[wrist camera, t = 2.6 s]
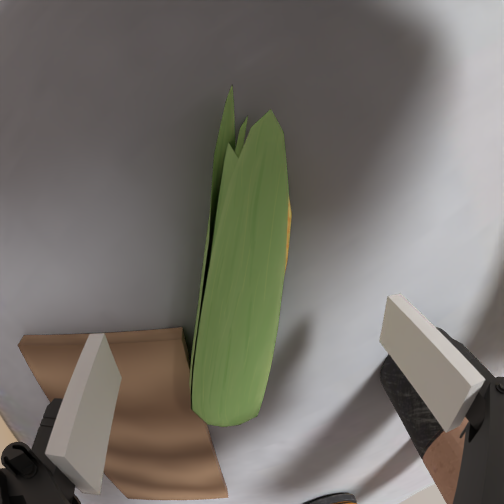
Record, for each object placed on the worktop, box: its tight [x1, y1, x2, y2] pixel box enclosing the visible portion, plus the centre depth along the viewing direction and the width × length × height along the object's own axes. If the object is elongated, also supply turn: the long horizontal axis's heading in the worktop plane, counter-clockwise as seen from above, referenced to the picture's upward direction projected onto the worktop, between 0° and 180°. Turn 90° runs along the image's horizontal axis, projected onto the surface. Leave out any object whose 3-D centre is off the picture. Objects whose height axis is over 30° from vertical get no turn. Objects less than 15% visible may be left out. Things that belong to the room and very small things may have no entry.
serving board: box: [18, 327, 228, 500], centre depth 23 cm, size 24×12×1 cm, turn 3°
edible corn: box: [189, 86, 292, 427], centre depth 16 cm, size 5×20×5 cm
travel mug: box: [380, 327, 469, 504], centre depth 14 cm, size 8×8×20 cm
